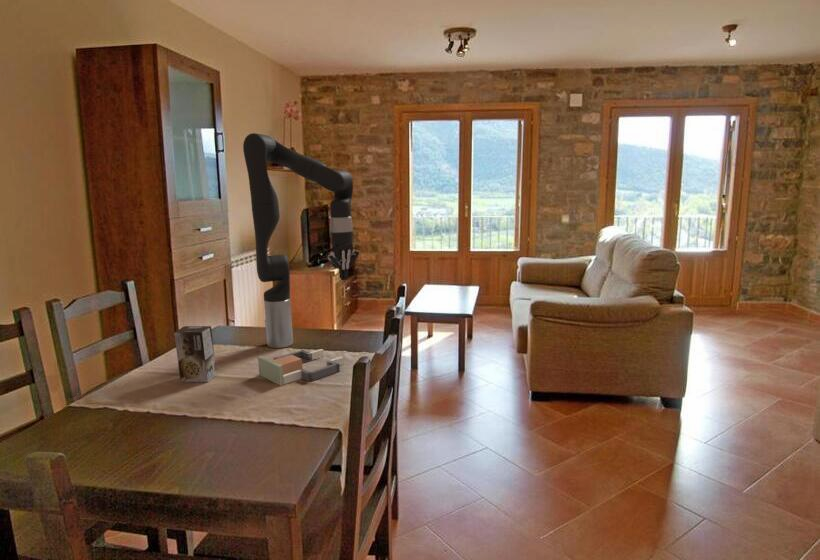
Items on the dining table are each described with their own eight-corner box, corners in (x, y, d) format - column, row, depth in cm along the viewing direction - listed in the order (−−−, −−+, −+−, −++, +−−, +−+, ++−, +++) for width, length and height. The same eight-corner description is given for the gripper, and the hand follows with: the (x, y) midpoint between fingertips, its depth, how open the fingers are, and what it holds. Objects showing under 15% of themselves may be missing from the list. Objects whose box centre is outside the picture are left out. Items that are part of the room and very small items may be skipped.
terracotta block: (270, 374, 168) (269, 361, 167) (292, 367, 173) (291, 354, 172) (280, 379, 163) (279, 365, 162) (302, 372, 169) (301, 358, 168)
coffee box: (217, 374, 168) (212, 325, 165) (207, 382, 162) (202, 331, 158) (189, 374, 169) (184, 325, 166) (179, 382, 163) (173, 331, 159)
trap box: (253, 371, 170) (251, 354, 168) (315, 353, 186) (314, 336, 185) (287, 389, 155) (286, 369, 154) (351, 367, 171) (350, 349, 170)
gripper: (350, 227, 189) (352, 275, 192) (319, 231, 180) (322, 281, 183) (363, 229, 184) (365, 278, 187) (332, 232, 175) (335, 284, 178)
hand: (344, 279), depth 185 cm, fingers closed
